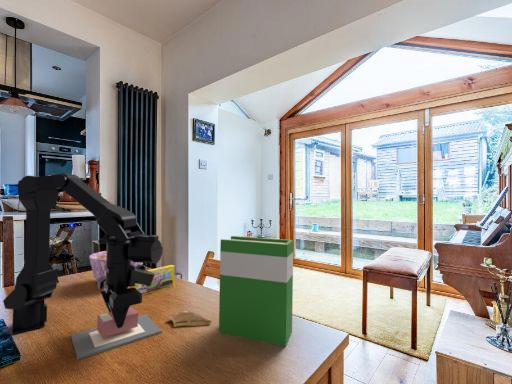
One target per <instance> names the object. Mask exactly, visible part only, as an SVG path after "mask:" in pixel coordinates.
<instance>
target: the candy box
mask: <svg viewBox="0 0 512 384" xmlns="http://www.w3.org/2000/svg"><path fill="white" fill-rule="evenodd" d="M175 267H176V266H175V265H174V264H170V265H165V266H160V267H156V268H151V269H147V270H148V271H150V272H152V273H154V274H155V276H154V278H153V281H152V284H151V286H146V285H142V284H136V283H135V286H132V287H131V288H133V287H134V288H136V289H137V290H138V291H139V292H140V293H142V296H145V295H148V294H152V293H156V292H159V291H162V290H164V289H169V288H171V286H172V287H174V285H175ZM168 287H169V288H168Z"/></svg>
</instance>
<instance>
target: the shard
mask: <svg viewBox="0 0 512 384" xmlns="http://www.w3.org/2000/svg"><path fill="white" fill-rule="evenodd" d="M168 320H169V321H171V322H172V323H173V328H177V327H188V326H189V327H194V326H196V327H197V326H208V325H211V323H212V320H210V319H208V318H205V317H203V316H202V315H200V314H198V313H195V312H193V311H191V310H185V311H179V312H176V313H174V314H171V315H169V316H168Z"/></svg>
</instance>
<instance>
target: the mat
mask: <svg viewBox="0 0 512 384" xmlns="http://www.w3.org/2000/svg"><path fill="white" fill-rule="evenodd" d="M158 334H162V329H161V328H160V327H159V326H158V325H157V324H156V323H155V322H154V321H153V319H151V318H150V317H149V316H148V315H147V314H143V315H138V327H135V328H132V329H129V330H125V331H122V332H119V333H116V334H113V335H110V336H107V337H103V338H102V336H101V335H100V333H99V332H98V330H97V327H94V328H91V329H87V330H83V331H79V332H75V333H72V334H71V335H70V338H71V340H72V345H73V348H74V351H75V356H76V360H77V361H79V360H82V359H84V358H88V357H91V356H93V355H97V354H100V353H102V352H103V353H104V352H106V351H109V350H112V349H116V348H118V347H121V346H125V345H127V344H131V343H134V342H137V341H140V340H143V339H146V338H150V337H153V336H156V335H158Z"/></svg>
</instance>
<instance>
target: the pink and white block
mask: <svg viewBox="0 0 512 384" xmlns="http://www.w3.org/2000/svg"><path fill="white" fill-rule="evenodd" d="M138 316H139V313H138V312H137V310H136V309H134V308H133V307H132V306H130V307H129V309H128V312H127V315H126V318H125V321H124V324H123V327H121V328H118V327H117V325H116V323H115V320H114V318H113V315H112V313H111V312H109V311H108V312H105V313H102V314H99V315H97V318H96V321H97V323H96V324H97V325H96V328H97V330H98V332H99V333H100V335H101V336H102V338H103V337H107V336H110V335H113V334H116V333H119V332H122V331H125V330H129V329H132V328H135V327H138Z"/></svg>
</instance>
